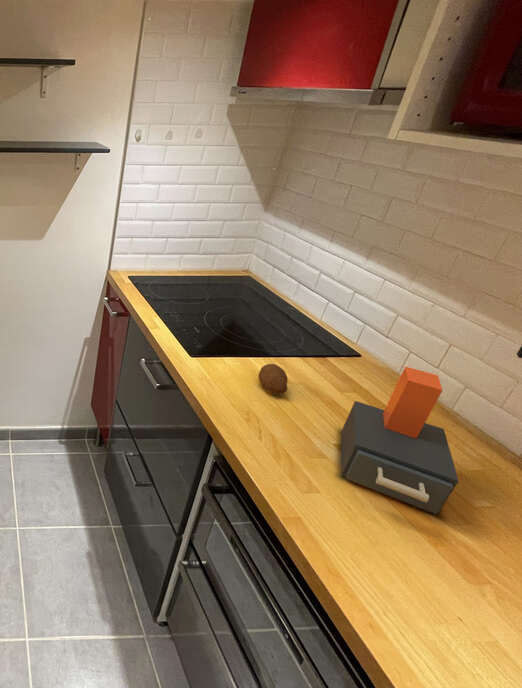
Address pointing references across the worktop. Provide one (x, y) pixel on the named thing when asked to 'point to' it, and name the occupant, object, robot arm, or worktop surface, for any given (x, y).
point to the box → (412, 402)
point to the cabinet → (396, 445)
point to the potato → (273, 379)
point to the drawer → (399, 481)
